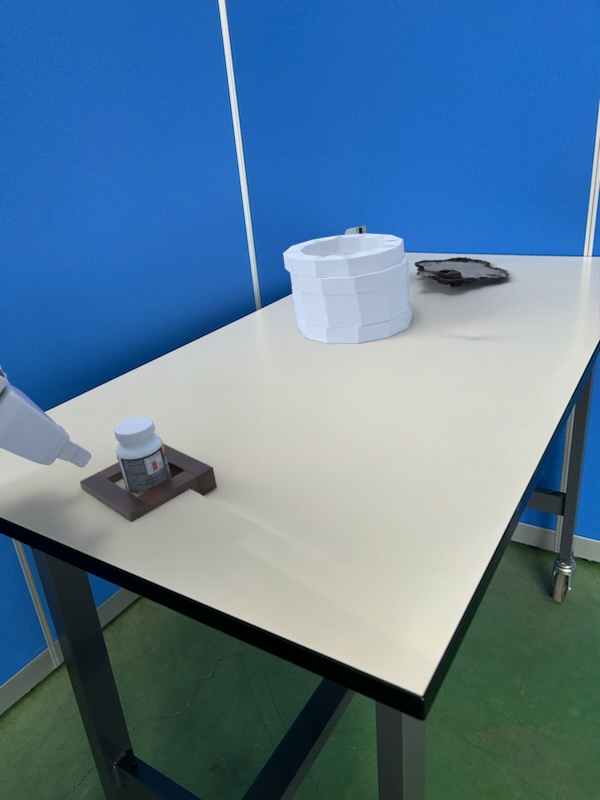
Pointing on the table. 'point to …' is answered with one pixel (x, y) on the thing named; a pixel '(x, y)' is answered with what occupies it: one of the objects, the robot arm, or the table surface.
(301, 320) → the container
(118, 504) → the frame
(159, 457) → the pill bottle
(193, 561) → the table surface
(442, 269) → the scrap metal
